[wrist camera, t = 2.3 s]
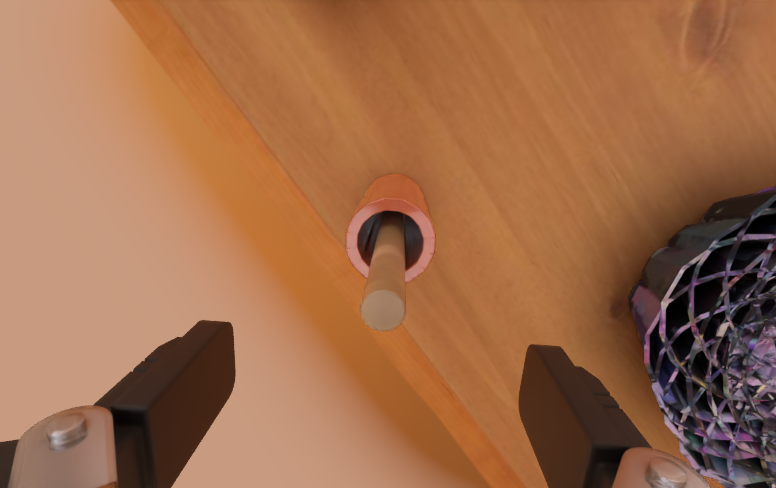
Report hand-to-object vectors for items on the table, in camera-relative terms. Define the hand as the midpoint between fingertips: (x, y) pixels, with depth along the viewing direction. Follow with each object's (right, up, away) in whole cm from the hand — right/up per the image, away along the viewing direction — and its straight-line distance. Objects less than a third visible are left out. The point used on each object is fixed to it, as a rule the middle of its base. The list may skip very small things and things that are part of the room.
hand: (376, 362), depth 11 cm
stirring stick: (+1, +6, +22) cm, 23 cm away
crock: (+1, +7, +23) cm, 24 cm away
